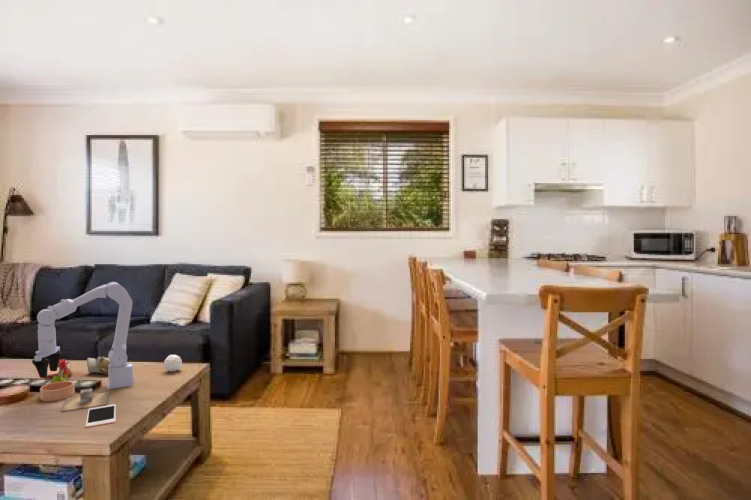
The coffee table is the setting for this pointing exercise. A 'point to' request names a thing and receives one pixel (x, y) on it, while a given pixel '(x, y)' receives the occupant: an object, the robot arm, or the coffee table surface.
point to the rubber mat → (85, 408)
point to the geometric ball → (172, 363)
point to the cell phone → (101, 415)
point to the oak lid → (86, 400)
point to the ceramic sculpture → (98, 365)
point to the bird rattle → (61, 372)
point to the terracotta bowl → (57, 391)
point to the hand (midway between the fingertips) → (48, 374)
